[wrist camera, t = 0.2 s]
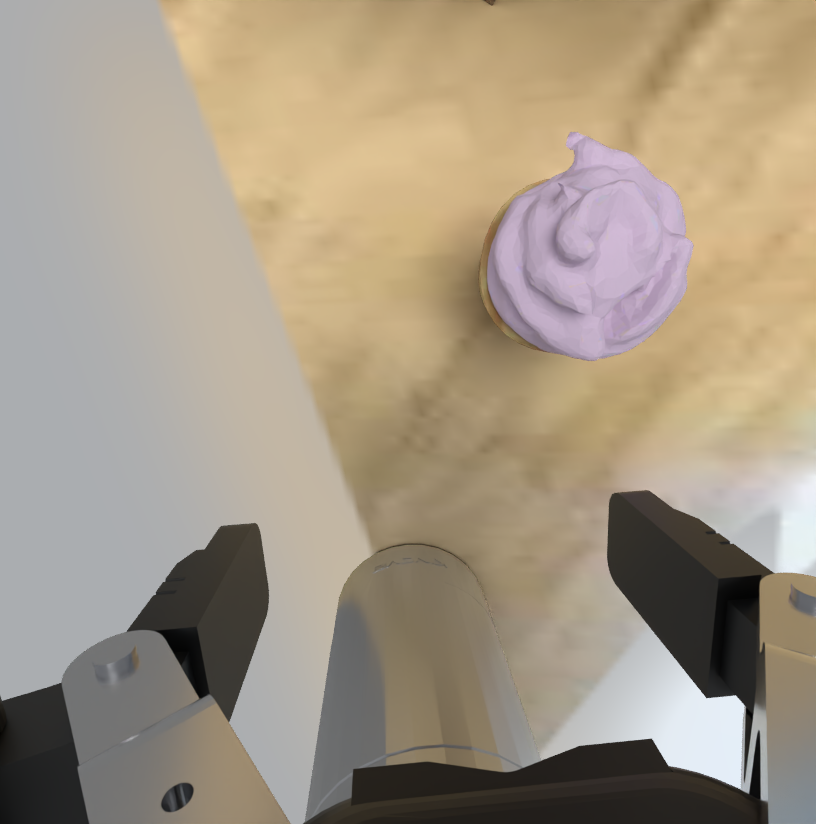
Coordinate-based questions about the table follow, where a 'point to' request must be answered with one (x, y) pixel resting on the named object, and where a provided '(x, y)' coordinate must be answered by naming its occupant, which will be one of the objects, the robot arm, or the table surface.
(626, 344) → the ice cream cone
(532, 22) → the table surface
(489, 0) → the plinth
